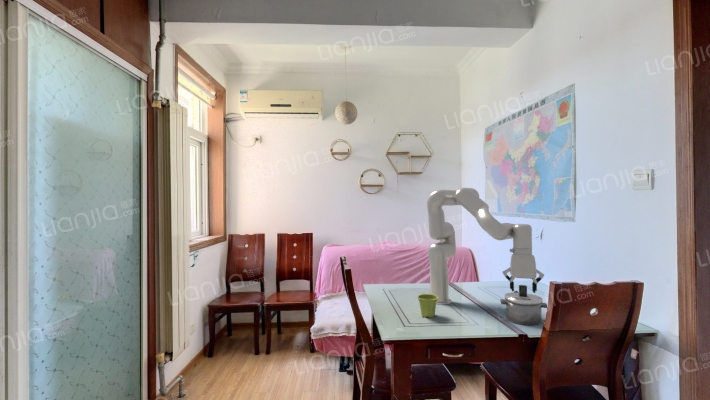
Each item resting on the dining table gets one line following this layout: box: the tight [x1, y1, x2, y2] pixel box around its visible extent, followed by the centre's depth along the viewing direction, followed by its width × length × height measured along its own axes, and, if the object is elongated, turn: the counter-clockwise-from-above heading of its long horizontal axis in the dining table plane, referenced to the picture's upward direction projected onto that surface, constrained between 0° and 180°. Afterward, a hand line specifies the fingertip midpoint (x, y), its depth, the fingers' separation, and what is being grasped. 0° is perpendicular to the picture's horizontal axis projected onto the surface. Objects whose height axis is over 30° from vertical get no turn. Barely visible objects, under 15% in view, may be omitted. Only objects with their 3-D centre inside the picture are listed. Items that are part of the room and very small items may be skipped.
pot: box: [500, 298, 548, 327], centre depth 146 cm, size 18×14×9 cm
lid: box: [504, 284, 544, 305], centre depth 147 cm, size 15×15×6 cm
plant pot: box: [417, 293, 438, 318], centre depth 154 cm, size 9×9×9 cm
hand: (523, 291), depth 147 cm, fingers open, 8 cm apart
